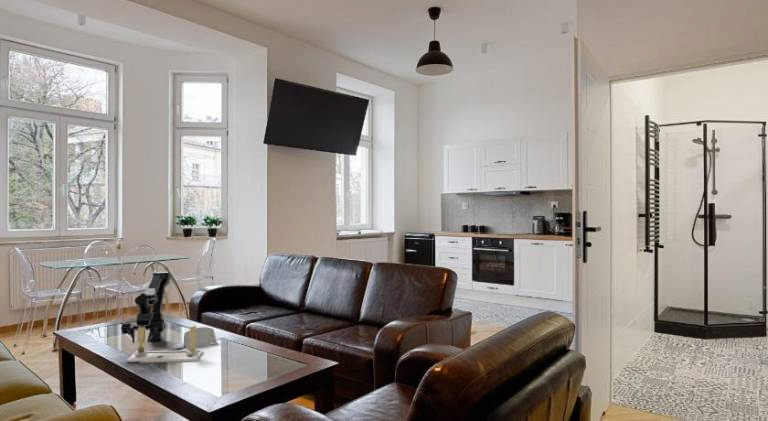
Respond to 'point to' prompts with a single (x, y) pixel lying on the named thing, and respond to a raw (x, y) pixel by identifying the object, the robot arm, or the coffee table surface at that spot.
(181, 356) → the plate
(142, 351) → the leg
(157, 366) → the coffee table surface
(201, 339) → the grey blocky piece
